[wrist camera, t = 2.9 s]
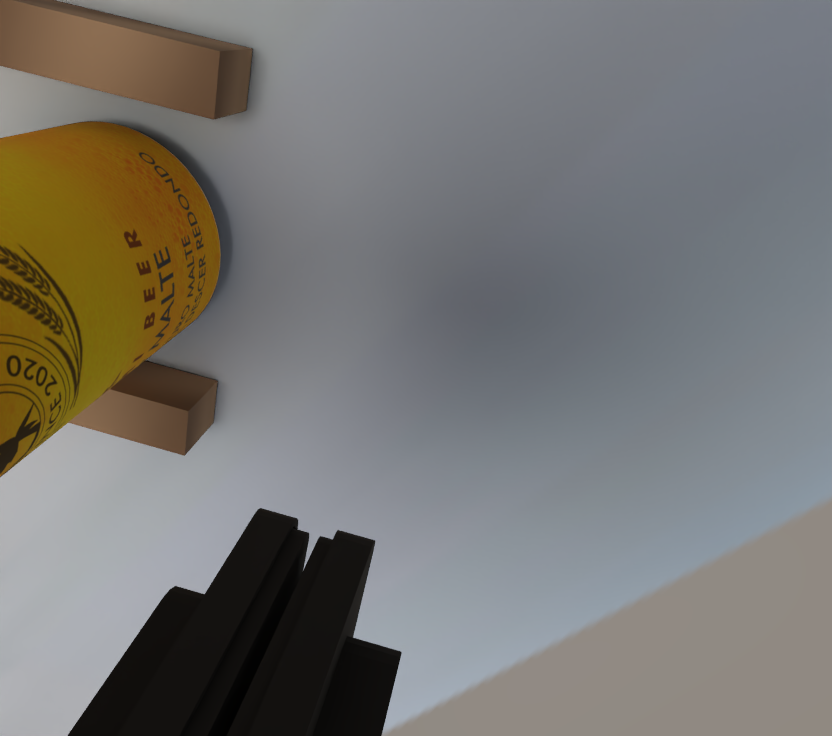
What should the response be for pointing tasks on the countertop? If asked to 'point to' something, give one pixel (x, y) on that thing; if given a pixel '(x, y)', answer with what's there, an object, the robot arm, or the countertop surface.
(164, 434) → the u rest
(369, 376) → the countertop surface
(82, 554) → the countertop surface
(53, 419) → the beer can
